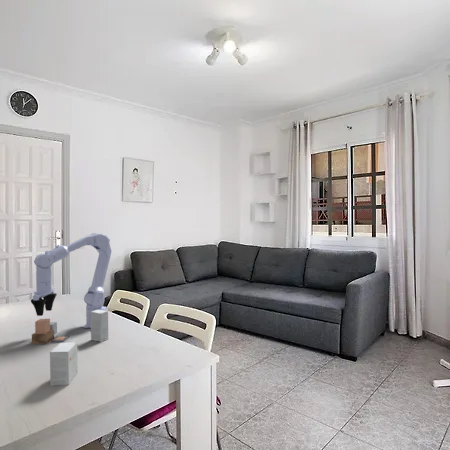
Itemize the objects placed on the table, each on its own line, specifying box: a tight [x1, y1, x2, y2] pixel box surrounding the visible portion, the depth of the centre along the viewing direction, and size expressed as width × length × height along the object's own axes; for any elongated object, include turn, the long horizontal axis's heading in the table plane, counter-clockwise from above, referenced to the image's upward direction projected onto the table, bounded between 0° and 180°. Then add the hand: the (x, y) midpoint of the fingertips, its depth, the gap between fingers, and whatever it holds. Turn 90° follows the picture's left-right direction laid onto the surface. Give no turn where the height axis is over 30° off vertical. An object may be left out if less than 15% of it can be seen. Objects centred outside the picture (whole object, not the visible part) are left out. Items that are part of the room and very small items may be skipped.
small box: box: [49, 341, 79, 387], centre depth 105 cm, size 8×6×10 cm
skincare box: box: [90, 310, 109, 343], centre depth 140 cm, size 6×4×12 cm
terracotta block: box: [34, 318, 51, 334], centre depth 138 cm, size 4×4×5 cm
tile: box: [50, 336, 70, 343], centre depth 140 cm, size 5×5×1 cm
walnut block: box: [31, 330, 55, 345], centre depth 138 cm, size 6×6×4 cm
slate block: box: [50, 321, 58, 336], centre depth 146 cm, size 4×4×5 cm
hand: (44, 312), depth 143 cm, fingers open, 7 cm apart
